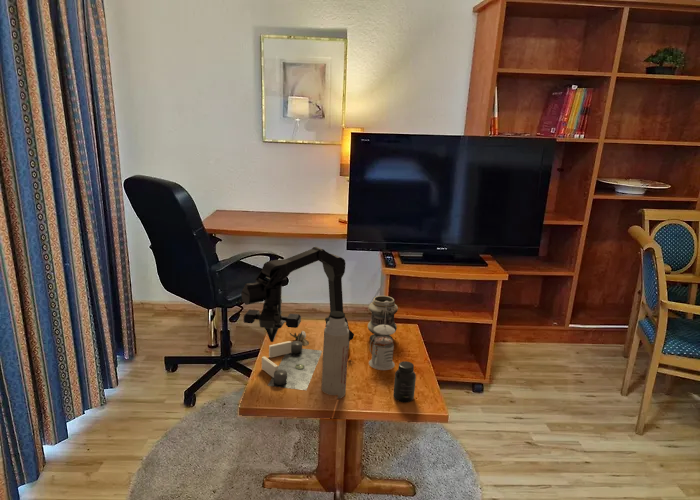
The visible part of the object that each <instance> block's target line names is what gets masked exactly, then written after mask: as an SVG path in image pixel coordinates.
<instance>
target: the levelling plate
mask: <svg viewBox="0 0 700 500" xmlns="http://www.w3.org/2000/svg"><path fill="white" fill-rule="evenodd" d="M322 354H323V350H318V349H309V348H302V352H301V353H297V354H296V353H292V352H291V353H288V354H284V355H283V357H282V359H281V361H280V363H279V365H277V366H278V370H284V371H286V372H287V383H286V384H283V385H277V384H275V383H274V378H273V377H272V376H271V379H270V380H269V382H268V384H267V387H276V388H283V389H291V390H300V391H307V390H308V387H309V385H310V382H311V380H312V378H313V375H314V372H315V370H316V367H317V365H318V363H319V360H320V358H321V356H322Z"/></svg>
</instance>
